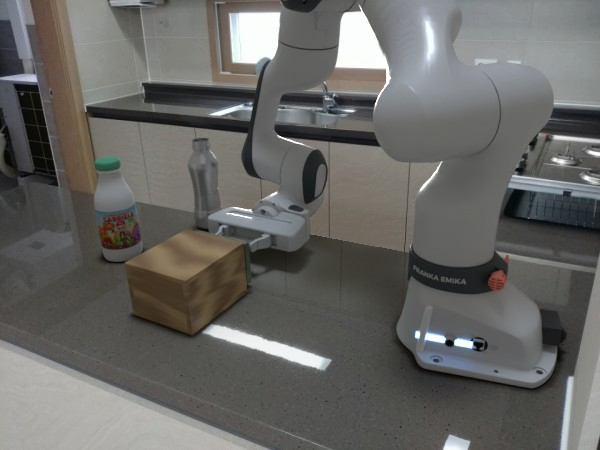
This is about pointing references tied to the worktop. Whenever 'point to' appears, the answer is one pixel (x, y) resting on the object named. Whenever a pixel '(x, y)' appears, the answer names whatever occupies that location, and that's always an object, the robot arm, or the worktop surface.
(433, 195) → the robot arm
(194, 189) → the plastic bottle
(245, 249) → the drawer
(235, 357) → the worktop surface
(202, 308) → the cabinet
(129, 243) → the milk bottle
